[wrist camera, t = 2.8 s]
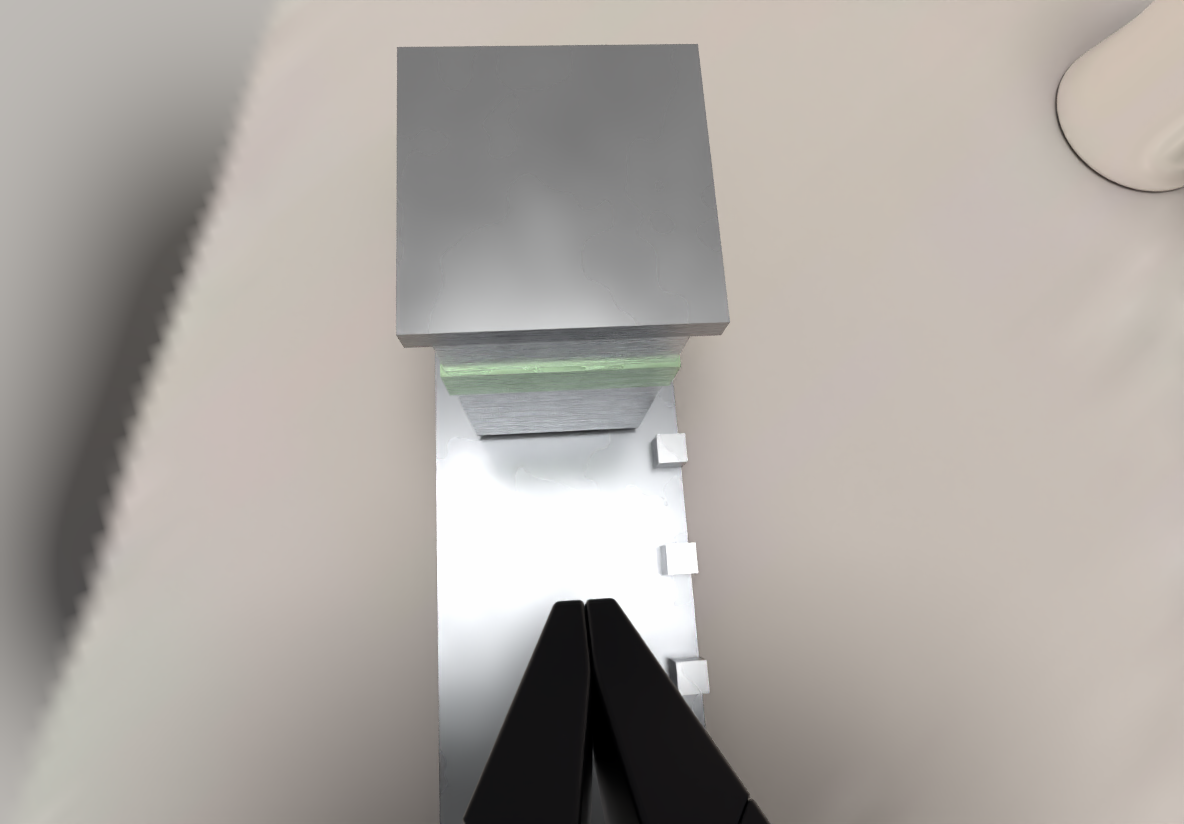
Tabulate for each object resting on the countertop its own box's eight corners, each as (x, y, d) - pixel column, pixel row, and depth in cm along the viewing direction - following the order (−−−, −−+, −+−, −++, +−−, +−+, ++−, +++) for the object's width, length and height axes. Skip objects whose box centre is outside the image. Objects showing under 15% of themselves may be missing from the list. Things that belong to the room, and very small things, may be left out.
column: (650, 439, 20) (730, 322, 11) (466, 448, 20) (396, 334, 11) (636, 271, 21) (697, 44, 12) (462, 277, 21) (397, 47, 12)
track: (712, 903, 19) (755, 987, 15) (448, 930, 18) (420, 1023, 14) (642, 120, 24) (659, 32, 20) (438, 124, 24) (416, 34, 20)
